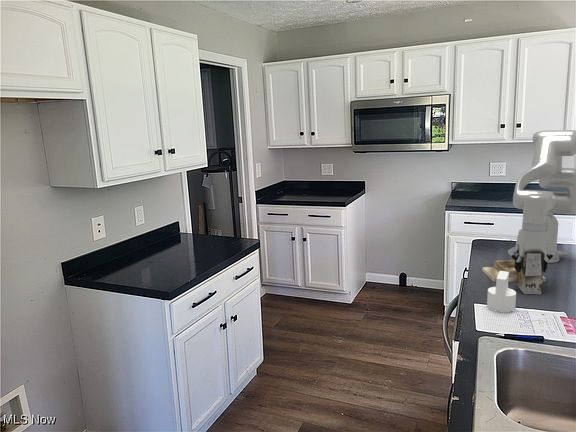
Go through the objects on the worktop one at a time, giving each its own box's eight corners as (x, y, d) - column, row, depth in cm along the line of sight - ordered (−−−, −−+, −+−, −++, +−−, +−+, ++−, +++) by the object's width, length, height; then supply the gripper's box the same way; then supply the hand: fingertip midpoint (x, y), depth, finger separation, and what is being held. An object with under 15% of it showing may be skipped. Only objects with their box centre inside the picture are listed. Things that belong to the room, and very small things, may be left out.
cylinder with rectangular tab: (513, 314, 150) (516, 281, 147) (485, 309, 154) (486, 277, 152) (516, 304, 157) (518, 272, 154) (488, 300, 162) (490, 269, 159)
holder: (530, 270, 191) (531, 260, 190) (545, 281, 177) (546, 270, 176) (482, 270, 193) (482, 260, 192) (493, 281, 179) (494, 271, 178)
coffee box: (542, 294, 164) (545, 253, 161) (523, 294, 166) (526, 253, 162) (534, 286, 173) (537, 246, 170) (516, 285, 174) (518, 246, 171)
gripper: (553, 224, 167) (549, 267, 171) (505, 225, 169) (502, 268, 172) (563, 228, 160) (559, 274, 163) (513, 229, 162) (510, 274, 165)
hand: (530, 271), depth 168 cm, fingers open, 8 cm apart
